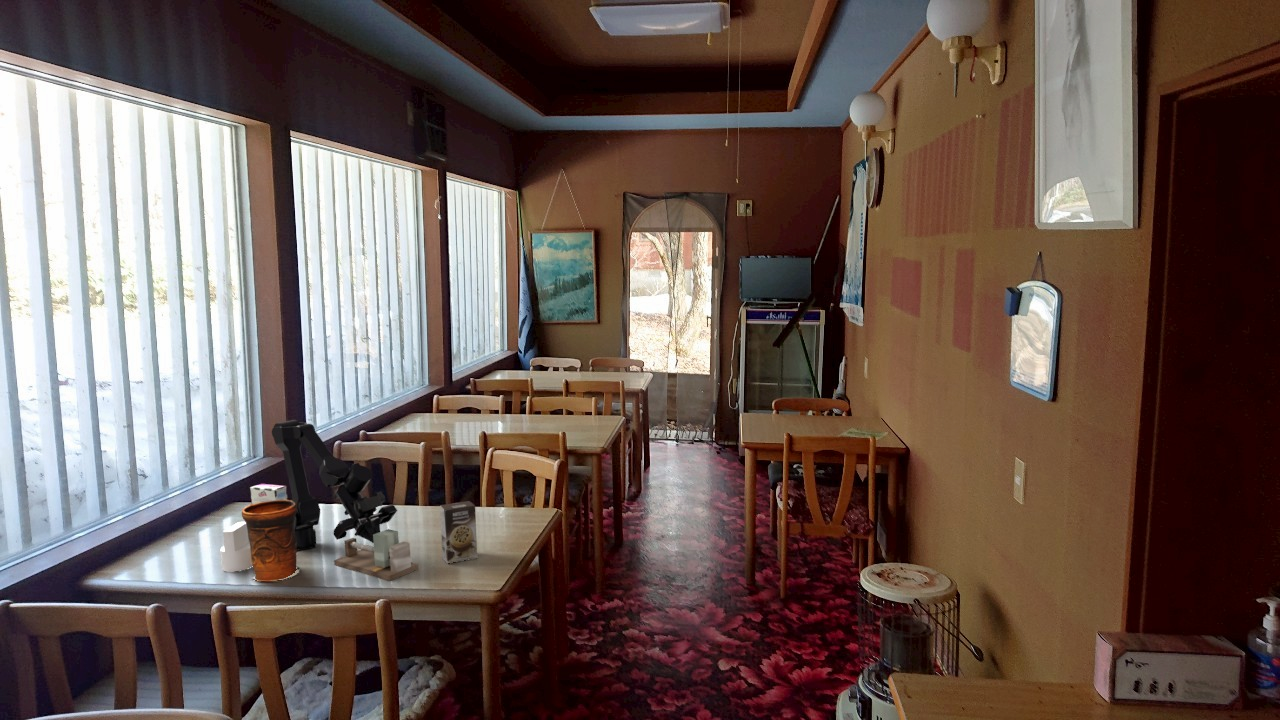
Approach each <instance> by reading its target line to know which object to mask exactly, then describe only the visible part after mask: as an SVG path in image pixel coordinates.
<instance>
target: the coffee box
mask: <svg viewBox="0 0 1280 720" xmlns="http://www.w3.org/2000/svg"><path fill="white" fill-rule="evenodd" d="M439 508H440V509H439V510H440V531H441V533H440V534H441V536H440V537H441V555H442V560H444V562H445V561H446V562H445V563H446V564H447V563H450V564H454V563H453V562H456V563H459V562H458V561H461V562H465V561H464V560H466V561H469V560H468V559H472V560H474V559H473V558H477V559H478V543H477V542H478V540H477V539H478V538H477V521H476V520H477V515H476V504H474V503H473V502H471V501H470V500H467V501H460V502H454V503H447V504H440V506H439Z"/></svg>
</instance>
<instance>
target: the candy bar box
mask: <svg viewBox="0 0 1280 720" xmlns="http://www.w3.org/2000/svg"><path fill="white" fill-rule="evenodd" d="M249 489H250V491H249V492H250V501H251V504H256V503H260V502H268V501H274V500H289V499H288V490H287V489H288V488H287V485H278V484H269V483H268V484H266V483H260V484H256V485H253V486H250V487H249ZM251 504H250V505H251Z"/></svg>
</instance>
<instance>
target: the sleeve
mask: <svg viewBox="0 0 1280 720" xmlns="http://www.w3.org/2000/svg"><path fill="white" fill-rule="evenodd" d="M373 541H374V543H373V547H374V556H375V566H379V567H382V568H386V567H388V566H390V557H389V556H388V552H390V550H389V547H390V546H393V545H395V544H398V543H400V542H399V531H398V530H394V529H389V528H388V529H384V530H382V531H380V532H379V533H376V534H373Z"/></svg>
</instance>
